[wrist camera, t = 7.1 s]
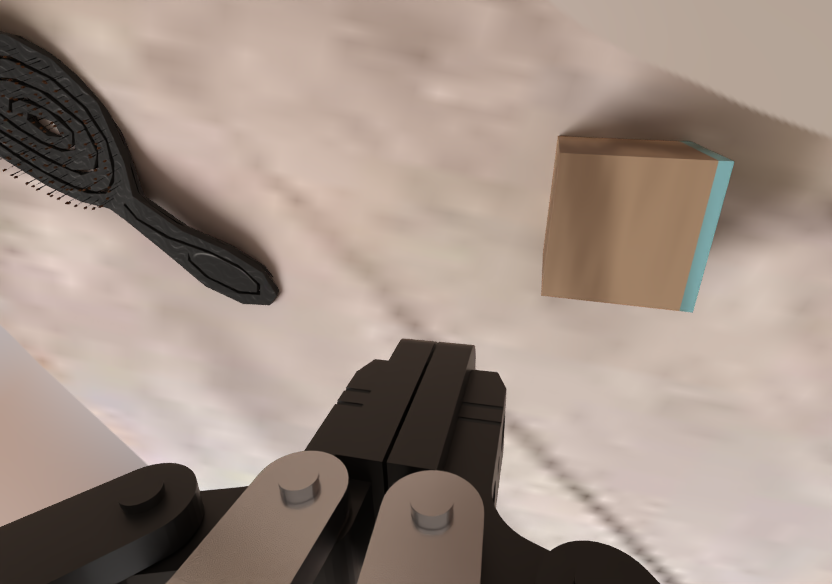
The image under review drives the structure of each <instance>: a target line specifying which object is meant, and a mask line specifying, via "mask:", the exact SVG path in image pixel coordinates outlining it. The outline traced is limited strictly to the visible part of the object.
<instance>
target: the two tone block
mask: <svg viewBox="0 0 832 584" xmlns="http://www.w3.org/2000/svg"><path fill="white" fill-rule="evenodd" d="M733 165H734V161H732V160H730V159H728V158H726V157H724V156H721V155H719V154H717V153H715V152H713V151H711V150H708V149H706V148H704V147H702V146H700V145H697V144H695V143H693V142H688V141H664V140H640V139H616V138H592V137H568V136H558V140H557V148H556V155H555V163H554V171H553V179H552V187H551V194H550V202H549V210H548V218H547V226H546V233H545V241H544V249H543V267H542V291H541V296H550V297H559V298H568V299H577V300H586V301H595V302H604V303H613V304H621V305H630V306H639V307H648V308H657V309H666V310H675V311H684V312H693V310H694V306H695V303H696V299H697V295H698V292H699V288H700V284H701V281H702V277H703V274H704V270H705V266H706V263H707V259H708V255H709V252H710V248H711V245H712V241H713V237H714V234H715V230H716V226H717V223H718V219H719V216H720V212H721V208H722V205H723V201H724V197H725V194H726V190H727V186H728V183H729V179H730V176H731V172H732V168H733Z"/></svg>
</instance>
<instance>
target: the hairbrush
mask: <svg viewBox="0 0 832 584" xmlns="http://www.w3.org/2000/svg"><path fill="white" fill-rule="evenodd" d="M0 56H3V57H0V78H16V79H18V80H11V79H8V80H6V81H0V157H1V159H2V158H3V159H4V160H6V161H8V162H9V163H11V164H13V165H14V166H16V167H17V168H19V169H21V171H24V172H25V173H27V174H29V175H30V176H32V177H34V178H35V179H37V180H39V181H40V183H41V182H42V183H43V184H45V185H44V186H46V185H47V186H49V187H51V188H53V189H55V191H56V190H57V191H59V192H62V193H64V194H65V195H68V196H70V197H72V198H74V199H77V200H79V201H81V203H82V202H85V203H89V204H93V205H97V206H99V208H101V207H105V208H109V209H111V210H112V211H114V212H115V213H116V214H118V215H119V216H120V217H122V218H123V219H124V220H126V221H127V222H128V223H130V224H131V225H132V226H133V227H134V228H136V229H137V230H138V231H139V232H141V233H142V234H143V235H144V236H146V237H147V238H148V239H149V240H150V241H152V242H153V243H154V244H155V245H157V246H158V247H159V248H160V249H162V250H163V251H164V252H165V253H166V254H168V255H169V256H170V257H171V258H172V259H174V260H175V261H176V262H177V263H178V264H180V265H181V266H182V267H183V268H184V269H186V270H187V271H188V272H189V273H190V274H192V275H193V276H194V277H195V278H196V279H198V280H199V281H200V282H201V283H202V284H204V285H205V286H206V287H208V288H210V289H212V290H215V291H217V292H219V293H221V294H223V295H225V296H227V297H230V298H232V299H234V300H236V301H238V302H240V303H242V304H256V305H270V304H272V303H273V302H274V300H275V299H276V296H277V294H278V292H279V290H278V287H277V286H276V284H275V283H274V282H273V280H272V279H271V278H270V277H269V275H271V273H270V272H269V271H268V269H267V268H266V267H265V266H264V265H262V264H261V263H259V262H258V261H256V260H254V259H253V258H251V257H250V256H248V255H246V254H245V253H243V252H242V251H240V250H238V249H237V248H235V247H234V246H232V245H229V244H227V243H225V242H223V241H220V240H218V239H216V238H213V237H211V236H209V235H207V234H204V233H202V232H200V231H198V230H195V229H193V228H191V227H188V226H187V225H186V224H184V223H183V222H181V221H180V220H178V219H177V218H176V217H174V216H173V215H171V214H170V213H168V212H167V211H166V210H164V209H163V208H161V207H160V206H158V205H157V204H155V203H154V202H153V201H151V200H150V199H148V198H147V197H145V196H144V194H143V191H142V188H141V185H140V182H139V179H138V176H137V173H136V170H135V167H134V164H133V161H132V158H131V155H130V152H129V149H128V146H127V143H126V141H125V139H124V137H123V134H122V132H121V130H120V129H119V127H118V126H117V124H116V123H115V122H113V121H114V120H113V119H112V117H111V115H110V114H109V112H108V110H107V109H106V108H105V107H104V105H103V104H102V103H101V102H100V101H99V99H98V98H97V97H96V96H95V95H94V94H93V92H92V91H91V90H90V89H89V88H88V87H87V85H86V84H85V83H84V82H83V81H82V80H81V79H80V78H79V77H78V76H77V75H76V74H75V73H74V72H72V71H71V70H70V69H69V68H68V67H67V66H65V65H64V64H63V62H62V63H61V62H60V60H59V59H57V58H56V57H54V56H53V55H52V54H50V53H49V52H47V51H46V50H44V49H42V48H41V47H39V46H37V45H35V44H33V43H32V42H30V41H28V40H26V39H24V38H23V37H21V36H17V35H13V34H9V33H5V32H2V31H0ZM7 56H11V57H13V58H15V59H17V60H19V61H17V60H14V59H10V58H6V57H7ZM23 97H27V98H29V99H31V100H32V101H31V100H22V99H23ZM34 116H35V118H36V120H35V119H34V118H33V117H34ZM36 116H38V117H41V119H43V118H44V119H47V120H50V121H53V122H51V123H50V124H53V123H54V124H55V125H53V128H54V127H57V129H58V130H59V132H60V134H61V135H62V136H60V135H57V134H55V133H52V132H50V131H48V129H47V130H46V129H45V127H44V126H42V125H41V124H40V123H39V122H38V121H39V120H41V119H39V120H37V117H36ZM114 123H115V124H116V126H117V128H118V129H119V131H120V133H121V135H122V139H123V142H124V144H123V142H122V139H121V137H120V135H119V133H118V130H117V128H116V126H115V124H114ZM50 124H49V125H50ZM47 126H48V125H47ZM51 129H52V128H51ZM49 130H50V129H49ZM124 145H125V146H124ZM56 146H57V147H56ZM73 146H75V150H72V151H70V150H66V149H65V148H68V149H70V148H71V147H73ZM58 147H59V148H58ZM12 167H13V166H12ZM98 167H99V169H96V168H98ZM87 169H95V170H94V171H91V172H84V173H82V172H79V171H77V170H87ZM6 170H7V169H4V170H3V172H4V171H6ZM19 172H20V171H19ZM16 173H18V172H16ZM16 173H14V174H16ZM14 174H11V175H10V176H13V175H14ZM23 174H24V173H23ZM21 175H22V174H21ZM19 176H20V175H19ZM14 178H18V176H15V177H14ZM35 179H34V180H35ZM32 181H33V180H32ZM32 181H30V182H32ZM30 182H26V183H25V184H29V183H30ZM38 184H39V183H38ZM44 186H42V187H44ZM31 187H35V186H34V185H33V186H31ZM42 187H40V188H42ZM40 188H38V189H36V191H37V190H40ZM106 188H108V189H109V190H108V191H107V192H103V191H100V190H103V189H106ZM91 190H92V191H91ZM53 192H54V191H53ZM53 192H51V193H53ZM96 192H100V193H96ZM51 193H48V194H47V195H50V194H51ZM57 193H58V192H57ZM65 195H63V196H65ZM52 196H53V195H50V197H52ZM63 196H62V197H63ZM60 198H61V197H59V198H57V200H60ZM71 201H72V200H71ZM70 203H71V202H70V201H69V202H66V203H65V204H70ZM76 206H78V205H77V204H76V205H75V206H74V207H76ZM84 209H87V206H86V207H84ZM94 209H95V207H93V208H92V210H94ZM265 271H266V272H267V273H268V274H269V275H268V274H267V273H266V272H265ZM271 276H272V275H271ZM272 277H273V276H272ZM259 289H260V291H258V290H259Z"/></svg>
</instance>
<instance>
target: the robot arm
mask: <svg viewBox="0 0 832 584" xmlns="http://www.w3.org/2000/svg"><path fill="white" fill-rule="evenodd" d="M475 359H476V353H475V346H474V345H467V344H456V343H446V342H439V343H437V342H434V341H424V340H413V339H401V340H400V342H399V344H398V345H397V347H396V349H395V351H394V352H393V354H392V356H391V357H390V359H389V361H387V360H377V359H375V360H373V361H372V362H370V363H369V364H367V365H366V366H364V367H363V368H361V369H360V370H358V371H357V372H356V373H355V375H354V376H353V378H352V380H351V381H350V383H349V384H348V386H347V387H346V391H344V392H343V393H342V395H341V396H340V398H339V399H338V402H337V404H335V405H334V407H333V408H332V410H331V411H330V413H329V414H328V416H327V417H326V419H325V420H324V422H323V423H322V425H321V426H320V428H319V429H318V431H317V432H316V434H315V435H314V437H313V438H312V440H311V441H310V443H309V444H308V446H307V447H306V449H305V450H304V451H301V452H296V453H292V454H289V455H286V456H284V457H281V458H279V459H277V460H276V461H274V462H272V463H271V464H269V465H268V466H267V467H266V468H264V469H263V470H262V471H261V472H260V473H259V475H258V476H257V477H256V478H255V479H254V480H253V482H252V483H251V484H250V485H249V486H245V487H237V488H227V489H217V490H206V491H200V490H199V487H198V483H197V480H196V476H195V474H194V473H193V471H192V470H191V469H189V468H188V467H186V466H184V465H180V464H176V463H160V464H154V465H150V466H146V467H143V468H140V469H137V470H135V471H132V472H130V473H128V474H125V475H123V476H121V477H118V478H116V479H113V480H111V481H109V482H107V483H104V484H102V485H99V486H97V487H94V488H92V489H90V490H87V491H85V492H83V493H80V494H78V495H75V496H73V497H71V498H68V499H66V500H63V501H61V502H59V503H57V504H54V505H52V506H49V507H47V508H44V509H42V510H40V511H37V512H35V513H33V514H30V515H28V516H25V517H23V518H21V519H18V520H16V521H14V522H11V523H9V524H6V525H4V526H2V527H0V584H660V583H659V582H658V581H657V580H656V579H655V578H654V577H653V576H652V575H651V574H650V573H649V572H648V570H646V569H645V568H644V567H643V566H642V565H641V564H640V563H639V562H638V561H636V560H635V559H633V558H632V557H631V556H629V555H628V554H626V553H624V552H622V551H620V550H619V549H616V548H614V547H612V546H609V545H606V544H602V543H599V542H593V541H573V542H567V543H564V544H562V545H559V546H557V547H556V548H554V549H552V550H551V551H549V550H547V549H545V548H543V547H541V546H539V545H537V544H535V543H533V542H531V541H529V540H527V539H525V538H524V537H522V536H520V535H519V534H517V533H516V532H515V531H513V530H512V529H511V528H510V527H509V526H508V525H507V524H506V523H505V522H504V521H503V519H502V518H501V517H500V515H499V514H498V512H497V510H496V503H497V495H498V488H499V480H500V471H501V465H502V457H503V446H504V426H505V406H506V387H505V385H504V383H503V381H502V380H501V378H500V376H499V374H498V372H489V371H480V370H475Z"/></svg>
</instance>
